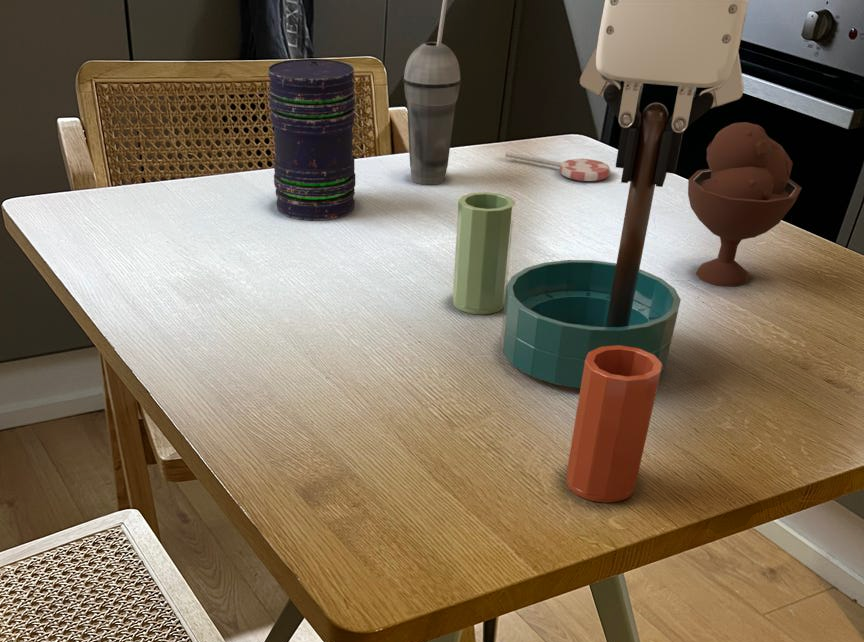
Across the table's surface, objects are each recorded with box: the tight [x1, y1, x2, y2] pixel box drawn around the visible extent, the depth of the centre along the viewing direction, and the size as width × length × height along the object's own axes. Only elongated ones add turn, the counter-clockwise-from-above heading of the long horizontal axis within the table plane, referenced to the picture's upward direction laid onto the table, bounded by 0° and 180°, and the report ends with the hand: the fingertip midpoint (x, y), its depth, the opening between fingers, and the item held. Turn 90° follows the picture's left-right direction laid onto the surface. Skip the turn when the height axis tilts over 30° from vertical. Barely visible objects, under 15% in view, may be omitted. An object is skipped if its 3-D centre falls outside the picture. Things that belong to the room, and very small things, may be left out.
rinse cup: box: [452, 191, 516, 315], centre depth 95 cm, size 5×5×10 cm
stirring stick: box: [606, 102, 669, 327], centre depth 81 cm, size 2×2×19 cm
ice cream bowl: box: [687, 121, 802, 287], centre depth 99 cm, size 11×11×15 cm
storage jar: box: [267, 58, 356, 221], centre depth 114 cm, size 10×10×15 cm
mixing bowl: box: [500, 259, 682, 389], centre depth 88 cm, size 15×15×6 cm
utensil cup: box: [565, 345, 662, 504], centre depth 71 cm, size 5×5×10 cm
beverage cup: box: [402, 0, 462, 186], centre depth 120 cm, size 7×7×20 cm
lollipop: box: [505, 151, 611, 182], centre depth 130 cm, size 7×1×15 cm
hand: (643, 178), depth 78 cm, fingers closed on stirring stick, 2 cm apart
